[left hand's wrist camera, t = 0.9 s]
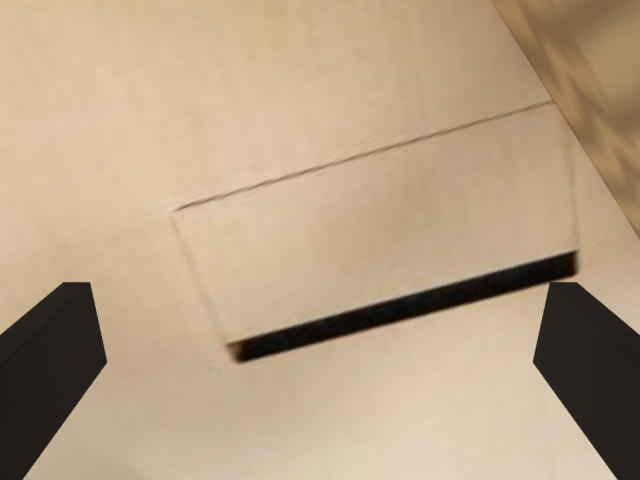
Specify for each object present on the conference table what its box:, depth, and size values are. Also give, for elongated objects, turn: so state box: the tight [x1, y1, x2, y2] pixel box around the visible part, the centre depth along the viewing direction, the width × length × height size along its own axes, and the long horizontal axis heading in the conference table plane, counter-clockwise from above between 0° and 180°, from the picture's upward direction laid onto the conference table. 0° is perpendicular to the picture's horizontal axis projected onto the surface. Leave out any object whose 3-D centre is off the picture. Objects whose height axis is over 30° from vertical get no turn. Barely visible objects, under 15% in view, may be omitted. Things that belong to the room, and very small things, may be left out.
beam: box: [491, 0, 640, 238], centre depth 28 cm, size 50×5×7 cm, turn 40°
